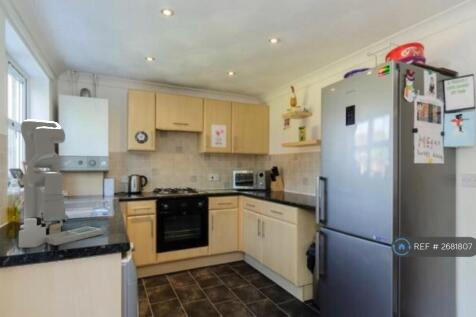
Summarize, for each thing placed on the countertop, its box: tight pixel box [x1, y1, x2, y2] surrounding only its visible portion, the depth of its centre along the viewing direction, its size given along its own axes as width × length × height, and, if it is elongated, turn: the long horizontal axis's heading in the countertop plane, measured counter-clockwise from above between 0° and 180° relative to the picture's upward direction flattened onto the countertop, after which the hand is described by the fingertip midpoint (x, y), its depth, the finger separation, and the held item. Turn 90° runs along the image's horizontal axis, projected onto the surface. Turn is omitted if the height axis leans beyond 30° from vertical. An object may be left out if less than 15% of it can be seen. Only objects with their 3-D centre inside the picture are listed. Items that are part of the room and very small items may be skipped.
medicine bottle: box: [18, 217, 47, 249], centre depth 122 cm, size 7×7×12 cm
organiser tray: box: [45, 226, 103, 246], centre depth 134 cm, size 12×22×2 cm, turn 151°
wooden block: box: [48, 221, 61, 234], centre depth 137 cm, size 5×5×6 cm
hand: (52, 234), depth 137 cm, fingers closed on wooden block, 5 cm apart
